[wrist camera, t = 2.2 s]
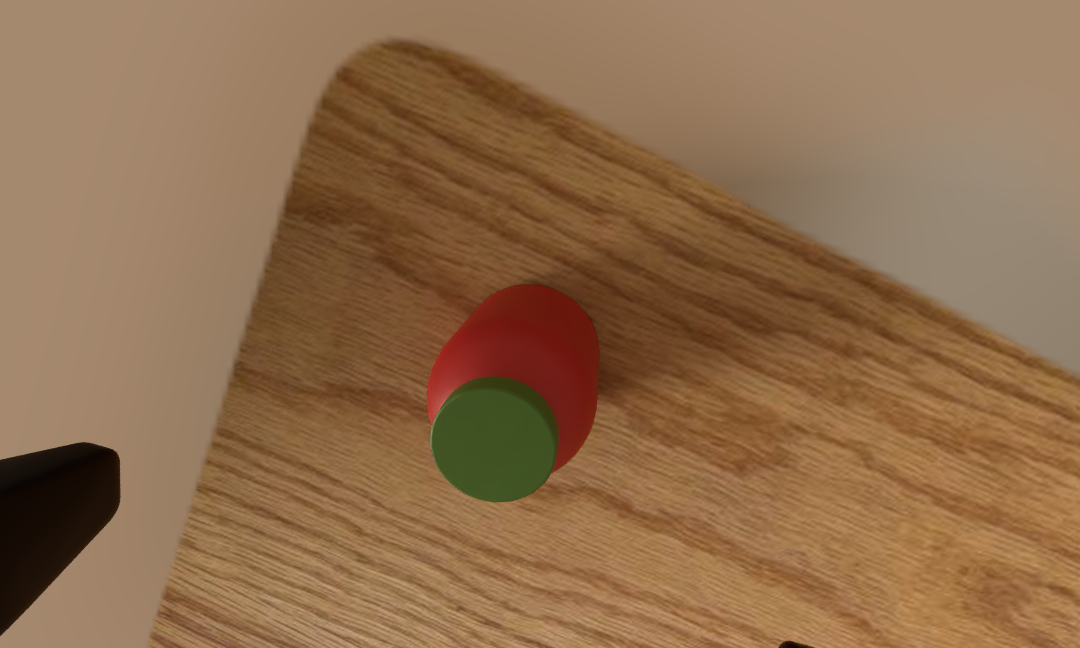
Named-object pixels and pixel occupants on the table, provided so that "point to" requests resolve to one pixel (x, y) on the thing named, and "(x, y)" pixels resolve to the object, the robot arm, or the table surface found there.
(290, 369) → the table surface
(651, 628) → the table surface
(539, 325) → the sriracha sauce bottle
